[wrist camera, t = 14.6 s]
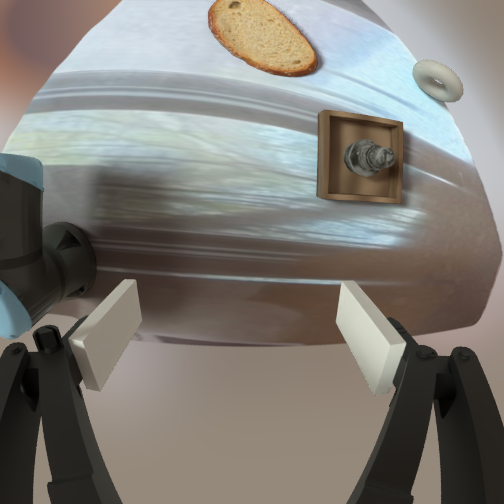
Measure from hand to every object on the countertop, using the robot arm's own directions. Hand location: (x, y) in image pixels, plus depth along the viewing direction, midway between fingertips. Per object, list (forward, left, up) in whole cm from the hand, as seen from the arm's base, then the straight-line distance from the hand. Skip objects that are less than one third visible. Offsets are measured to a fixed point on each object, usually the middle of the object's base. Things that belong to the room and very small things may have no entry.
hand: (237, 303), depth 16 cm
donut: (+33, +26, -31) cm, 52 cm away
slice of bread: (+3, +32, -32) cm, 45 cm away
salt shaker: (+18, +10, -31) cm, 37 cm away
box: (+19, +10, -31) cm, 38 cm away
